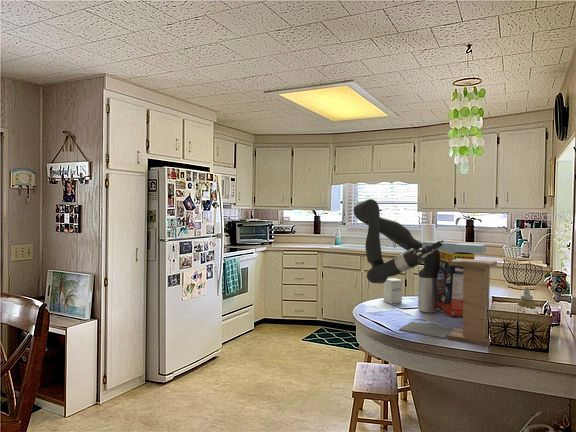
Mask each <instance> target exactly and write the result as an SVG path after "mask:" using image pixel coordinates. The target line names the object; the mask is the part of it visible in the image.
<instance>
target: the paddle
mask: <svg viewBox="0 0 576 432" xmlns="http://www.w3.org/2000/svg"><path fill="white" fill-rule="evenodd" d="M436 242H437V241H425V240H424V241H422V242H421V243H422V248H423V247H425V246H430V245H432V244H434V243H436ZM441 243H442V246H441V247H439V248H437V249H435V250H446V251H455V252H467V253H473V254H483V253H486V252H487V244H483V243H469V242H445V241H444V242H441Z"/></svg>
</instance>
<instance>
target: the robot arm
mask: <svg viewBox="0 0 576 432" xmlns="http://www.w3.org/2000/svg"><path fill="white" fill-rule="evenodd" d="M353 214H354V216H355V218H356V219H357V220H358V221H360V222H361V223H363V224H365V225H367V226H368V228H367V229H368V230H367V234H366V238H365V254H366V260H367V263H369V264H370V265H371V268H370V269H368V271H367V273H366V279H367V280H368V281H369V283H372V284H380V285H381V284H384V282H385V281H386V280H387V279H388V278H390V277H396V276H398V275H399V274H402V273H404V272H406V271H409V270H411V269H414V268H415V267H417V266H419V265H421V264H423V268H422V269H420V270H419V271H418V278H417V279H418V287H417V288H418V291H417V292H418V293H417V294H418V297H417V298H418V300H417V310H418V311H420V312H424V313H436V312H438V309H437V277H438V272H439V267H440V252H439V250H435V249H437V248H439V247H441V246H442V243H441V242H445V241H444V240H441V241H440V240H439V241H435V242H436V243H434V244H432V245H430V246H425V247H423V248H422V242H420V241H418V240H417V239H416V238H414V236H413V235H412V233H411V232H410V230H409V229H407V227H405V226H404V225H402V224H401V223H400V222H397V221H395V220H393V219H388V218H384V217H381V216H380V207H379V203H378V202H377V201H376V200H375V199H372V198H368V199H365V200H363V201H361V202H359V203H357V204H355V206H354V207H353ZM380 234H381V235H383V236H385V238H387V239H388V240H390V241H392V242H393V243H394V244H396V245H397V246H400V248H403V249H404V250H406V251H404V252H402V253H401V254H398V255H397V256H395V257H394V258H392V259H390V260H388V261H386V262H385V261H384V259H383V255H382V254H383V253H382V247H381V240H380V239H381V237H380V236H381V235H380Z"/></svg>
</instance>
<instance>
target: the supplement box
mask: <svg viewBox="0 0 576 432" xmlns="http://www.w3.org/2000/svg"><path fill="white" fill-rule="evenodd" d="M383 302H385V303H389V304H390V305H391V304H398V303H399V304H401V303H402V302H403V279H399V278H396V277H394V278H392V277H391V278H387V280H386V281H385V282H384V283H383Z"/></svg>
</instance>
